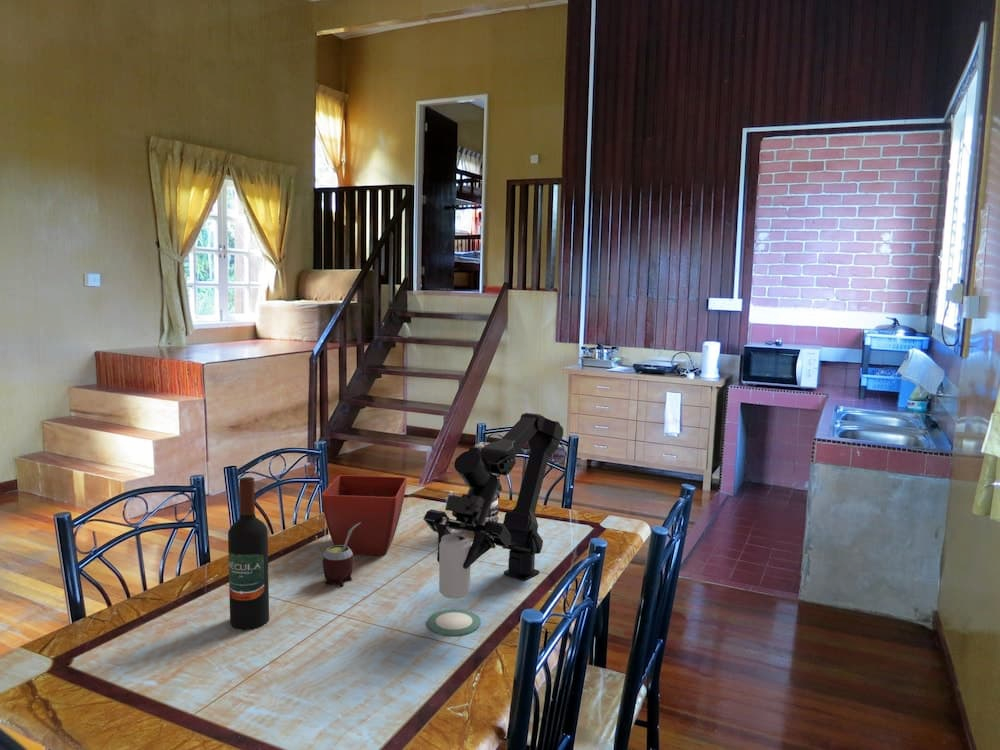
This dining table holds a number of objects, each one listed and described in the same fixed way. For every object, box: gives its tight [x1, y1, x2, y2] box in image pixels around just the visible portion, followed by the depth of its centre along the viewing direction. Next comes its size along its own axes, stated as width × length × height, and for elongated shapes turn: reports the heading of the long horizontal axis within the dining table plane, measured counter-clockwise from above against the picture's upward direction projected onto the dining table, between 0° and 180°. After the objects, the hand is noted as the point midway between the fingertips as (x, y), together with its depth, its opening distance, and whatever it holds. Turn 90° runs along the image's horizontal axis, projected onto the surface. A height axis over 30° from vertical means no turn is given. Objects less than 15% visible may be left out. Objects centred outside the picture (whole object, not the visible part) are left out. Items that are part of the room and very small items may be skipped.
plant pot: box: [320, 474, 407, 556], centre depth 189 cm, size 19×19×17 cm
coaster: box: [426, 608, 482, 637], centre depth 148 cm, size 11×11×1 cm
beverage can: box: [438, 532, 472, 600], centre depth 147 cm, size 6×6×12 cm
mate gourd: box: [322, 522, 361, 588], centre depth 167 cm, size 8×8×15 cm
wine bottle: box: [227, 476, 270, 631], centre depth 145 cm, size 8×8×30 cm
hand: (451, 564), depth 146 cm, fingers closed on beverage can, 6 cm apart
